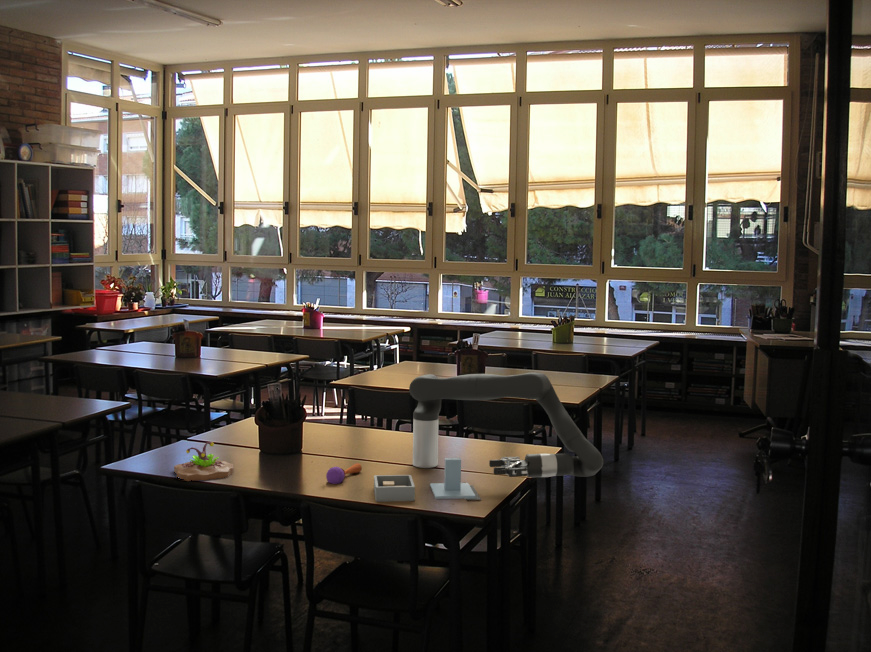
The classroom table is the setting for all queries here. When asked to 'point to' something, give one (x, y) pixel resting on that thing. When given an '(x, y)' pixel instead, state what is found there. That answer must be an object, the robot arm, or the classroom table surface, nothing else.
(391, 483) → the wooden block
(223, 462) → the plant
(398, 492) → the parts tub
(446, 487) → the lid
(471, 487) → the rubber mat
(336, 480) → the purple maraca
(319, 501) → the classroom table surface
